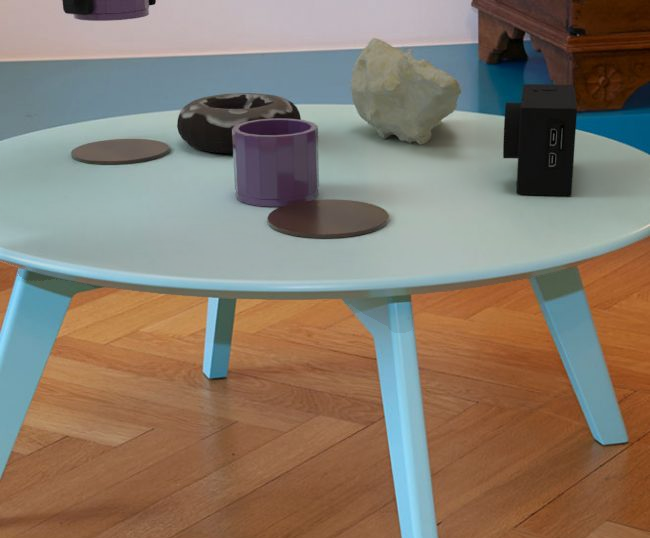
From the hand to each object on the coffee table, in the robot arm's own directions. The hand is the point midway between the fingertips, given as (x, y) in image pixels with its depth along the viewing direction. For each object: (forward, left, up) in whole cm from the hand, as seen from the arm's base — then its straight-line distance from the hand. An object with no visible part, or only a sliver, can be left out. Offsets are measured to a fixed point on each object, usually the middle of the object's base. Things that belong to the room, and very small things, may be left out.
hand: (110, 7), depth 100 cm
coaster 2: (-10, -28, -13) cm, 32 cm away
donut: (+8, -8, -13) cm, 17 cm away
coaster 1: (0, 0, -13) cm, 13 cm away
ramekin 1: (0, 0, -1) cm, 1 cm away
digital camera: (+8, -37, -13) cm, 40 cm away
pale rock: (+17, -23, -13) cm, 31 cm away
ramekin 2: (-6, -21, -13) cm, 25 cm away
